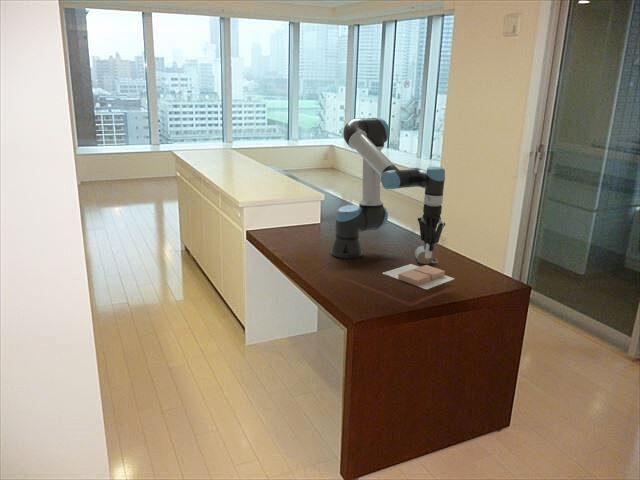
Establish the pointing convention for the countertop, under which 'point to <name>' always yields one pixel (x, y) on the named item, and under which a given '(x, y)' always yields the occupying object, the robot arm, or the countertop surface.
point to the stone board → (426, 285)
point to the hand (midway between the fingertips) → (427, 257)
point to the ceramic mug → (423, 256)
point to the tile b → (430, 271)
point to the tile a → (414, 277)
